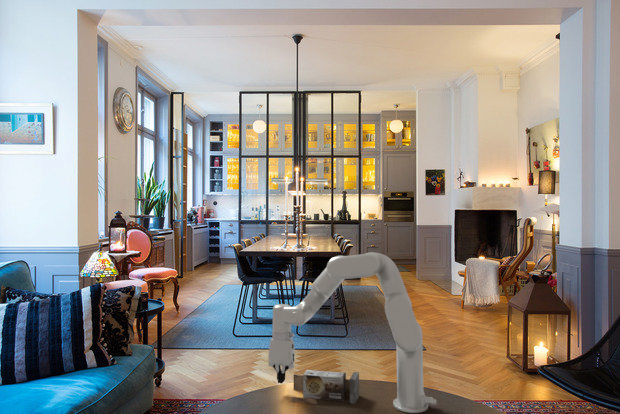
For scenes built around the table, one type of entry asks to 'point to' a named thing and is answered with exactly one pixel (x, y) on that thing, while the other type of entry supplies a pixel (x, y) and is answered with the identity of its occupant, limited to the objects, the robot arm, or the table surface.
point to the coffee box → (324, 385)
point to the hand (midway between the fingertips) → (281, 382)
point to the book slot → (351, 390)
